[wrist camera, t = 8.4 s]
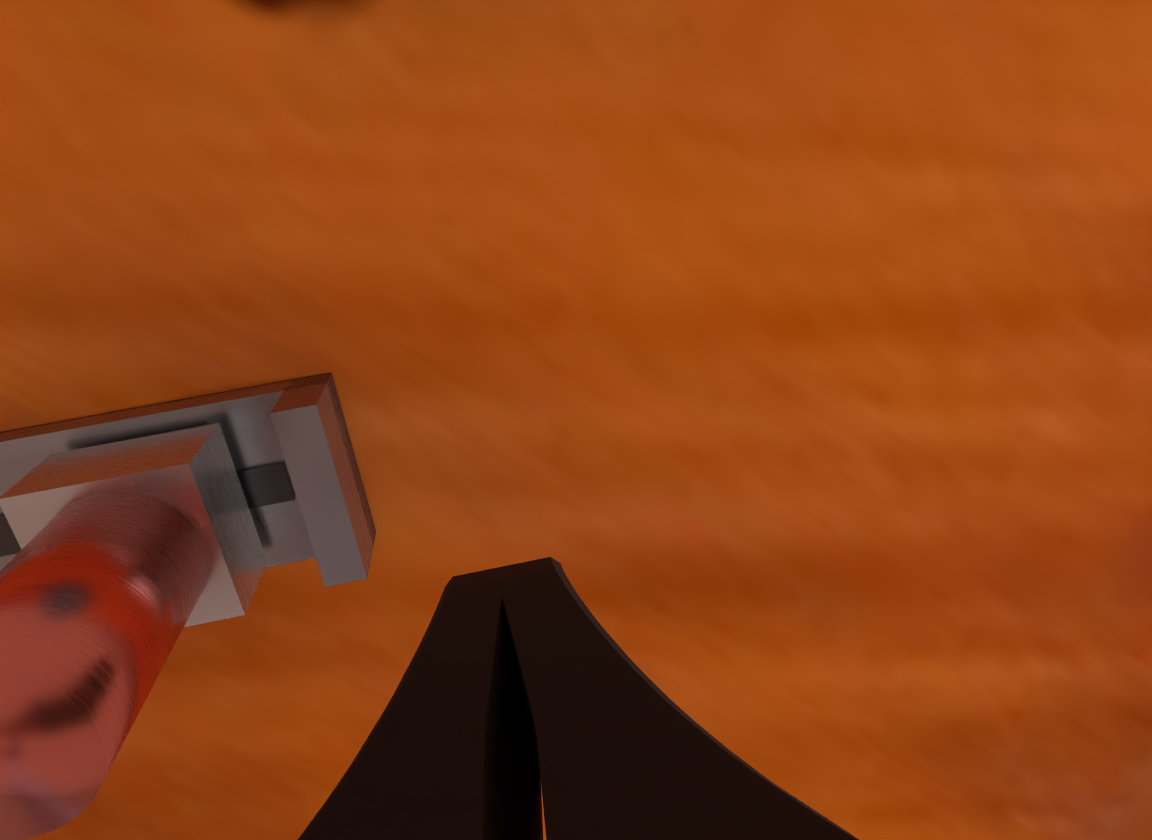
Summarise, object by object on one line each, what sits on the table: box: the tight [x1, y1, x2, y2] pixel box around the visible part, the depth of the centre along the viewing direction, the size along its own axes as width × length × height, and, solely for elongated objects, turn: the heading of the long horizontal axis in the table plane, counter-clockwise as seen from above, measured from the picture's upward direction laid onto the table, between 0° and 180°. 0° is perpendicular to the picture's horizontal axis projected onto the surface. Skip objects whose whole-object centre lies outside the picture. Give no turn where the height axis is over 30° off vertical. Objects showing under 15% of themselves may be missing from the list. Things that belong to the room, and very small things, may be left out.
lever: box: [0, 423, 267, 840], centre depth 12 cm, size 3×3×6 cm
